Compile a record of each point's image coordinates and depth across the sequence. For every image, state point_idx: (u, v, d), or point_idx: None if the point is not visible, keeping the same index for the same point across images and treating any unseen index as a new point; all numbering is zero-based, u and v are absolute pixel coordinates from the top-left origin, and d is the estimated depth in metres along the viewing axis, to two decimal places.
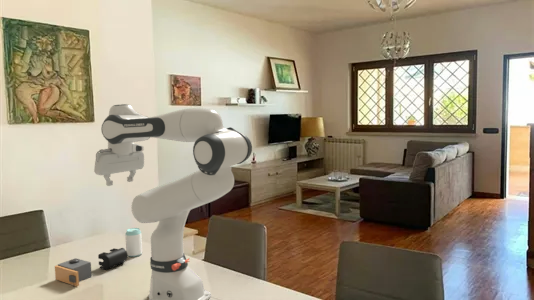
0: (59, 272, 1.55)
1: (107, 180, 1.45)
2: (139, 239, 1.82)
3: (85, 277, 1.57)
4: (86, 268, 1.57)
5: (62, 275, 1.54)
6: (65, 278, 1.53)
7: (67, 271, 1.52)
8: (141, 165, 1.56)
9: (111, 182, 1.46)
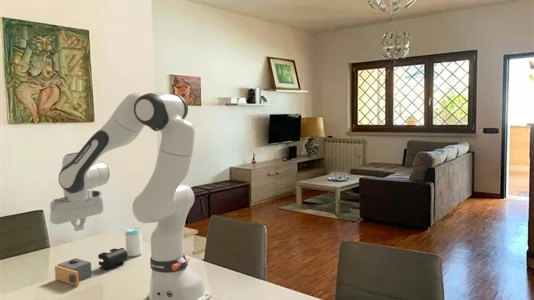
0: (59, 272, 1.55)
1: (74, 225, 1.50)
2: (139, 239, 1.82)
3: (85, 277, 1.57)
4: (86, 268, 1.57)
5: (62, 275, 1.54)
6: (65, 278, 1.53)
7: (67, 271, 1.52)
8: (100, 210, 1.58)
9: (78, 227, 1.51)
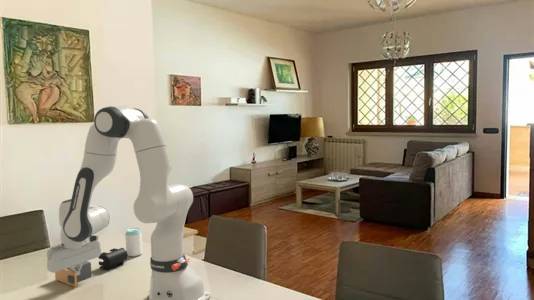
0: (59, 272, 1.55)
1: None
2: (139, 239, 1.82)
3: (85, 277, 1.57)
4: (86, 268, 1.57)
5: (61, 275, 1.54)
6: (64, 278, 1.53)
7: (66, 271, 1.52)
8: (98, 253, 1.57)
9: (77, 272, 1.51)
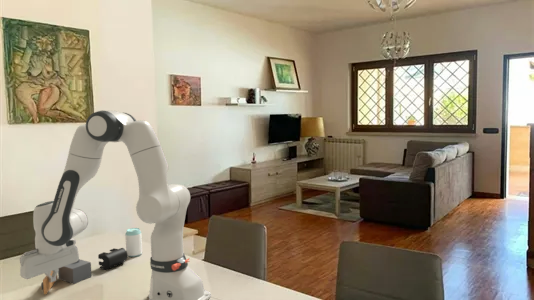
0: None
1: (48, 277, 1.45)
2: (139, 239, 1.82)
3: (85, 277, 1.57)
4: (86, 268, 1.57)
5: None
6: None
7: None
8: (75, 258, 1.52)
9: (53, 278, 1.46)
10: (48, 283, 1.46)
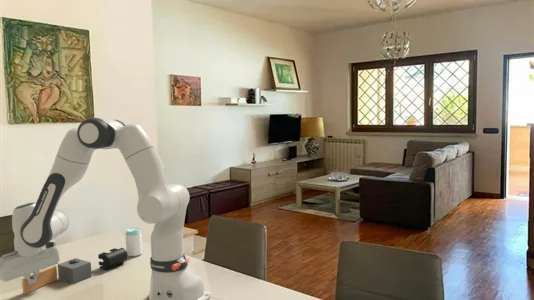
0: None
1: (27, 280, 1.44)
2: (139, 239, 1.82)
3: (85, 277, 1.57)
4: (86, 268, 1.57)
5: None
6: None
7: None
8: (56, 260, 1.51)
9: (32, 281, 1.45)
10: None
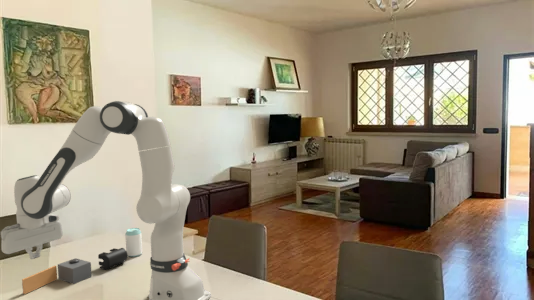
0: None
1: (30, 253, 1.42)
2: (139, 239, 1.82)
3: (85, 277, 1.57)
4: (86, 268, 1.57)
5: None
6: None
7: None
8: (59, 235, 1.49)
9: (34, 255, 1.42)
10: (31, 283, 1.47)
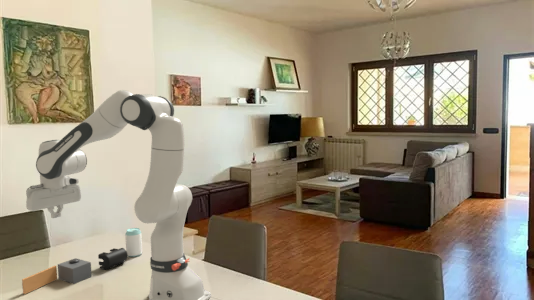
0: None
1: (51, 213, 1.51)
2: (139, 239, 1.82)
3: (85, 277, 1.57)
4: (86, 268, 1.57)
5: None
6: None
7: None
8: (78, 197, 1.59)
9: (55, 214, 1.52)
10: (31, 283, 1.47)
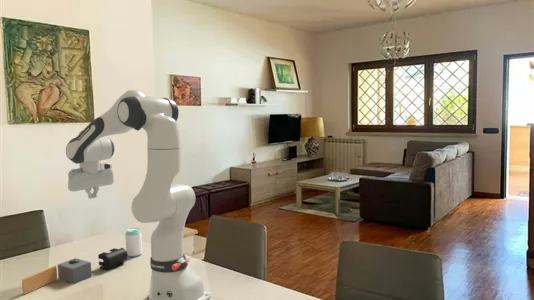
0: None
1: (89, 194, 1.71)
2: (139, 239, 1.82)
3: (85, 277, 1.57)
4: (86, 268, 1.57)
5: None
6: None
7: None
8: (111, 181, 1.78)
9: (92, 195, 1.71)
10: (31, 283, 1.47)
